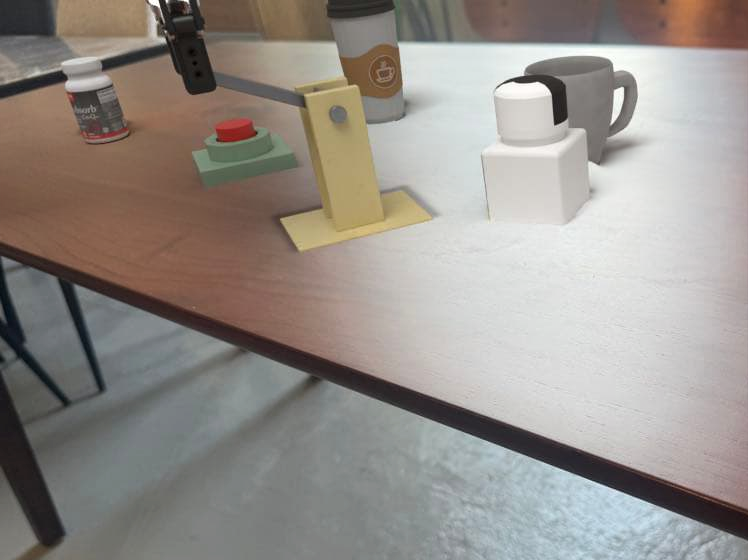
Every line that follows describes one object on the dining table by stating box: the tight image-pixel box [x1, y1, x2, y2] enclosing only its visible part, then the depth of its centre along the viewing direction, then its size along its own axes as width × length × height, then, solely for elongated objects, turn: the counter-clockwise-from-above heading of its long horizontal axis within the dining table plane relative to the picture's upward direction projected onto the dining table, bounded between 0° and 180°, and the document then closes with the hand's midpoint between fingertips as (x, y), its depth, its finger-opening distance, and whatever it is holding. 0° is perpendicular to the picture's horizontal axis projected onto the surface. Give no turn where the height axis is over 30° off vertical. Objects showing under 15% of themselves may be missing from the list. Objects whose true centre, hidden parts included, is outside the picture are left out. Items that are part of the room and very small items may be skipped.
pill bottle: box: [60, 56, 130, 144], centre depth 113 cm, size 6×6×10 cm
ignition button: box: [214, 117, 256, 143], centre depth 95 cm, size 4×4×2 cm
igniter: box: [190, 126, 298, 188], centre depth 96 cm, size 10×9×4 cm
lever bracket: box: [279, 75, 433, 254], centre depth 75 cm, size 12×9×13 cm
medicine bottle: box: [480, 75, 591, 227], centre depth 74 cm, size 7×7×12 cm
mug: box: [523, 55, 639, 165], centre depth 87 cm, size 12×9×10 cm
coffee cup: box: [325, 0, 406, 125], centre depth 107 cm, size 8×8×15 cm
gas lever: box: [212, 69, 324, 109], centre depth 70 cm, size 13×5×2 cm, turn 115°
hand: (196, 82), depth 68 cm, fingers open, 8 cm apart
